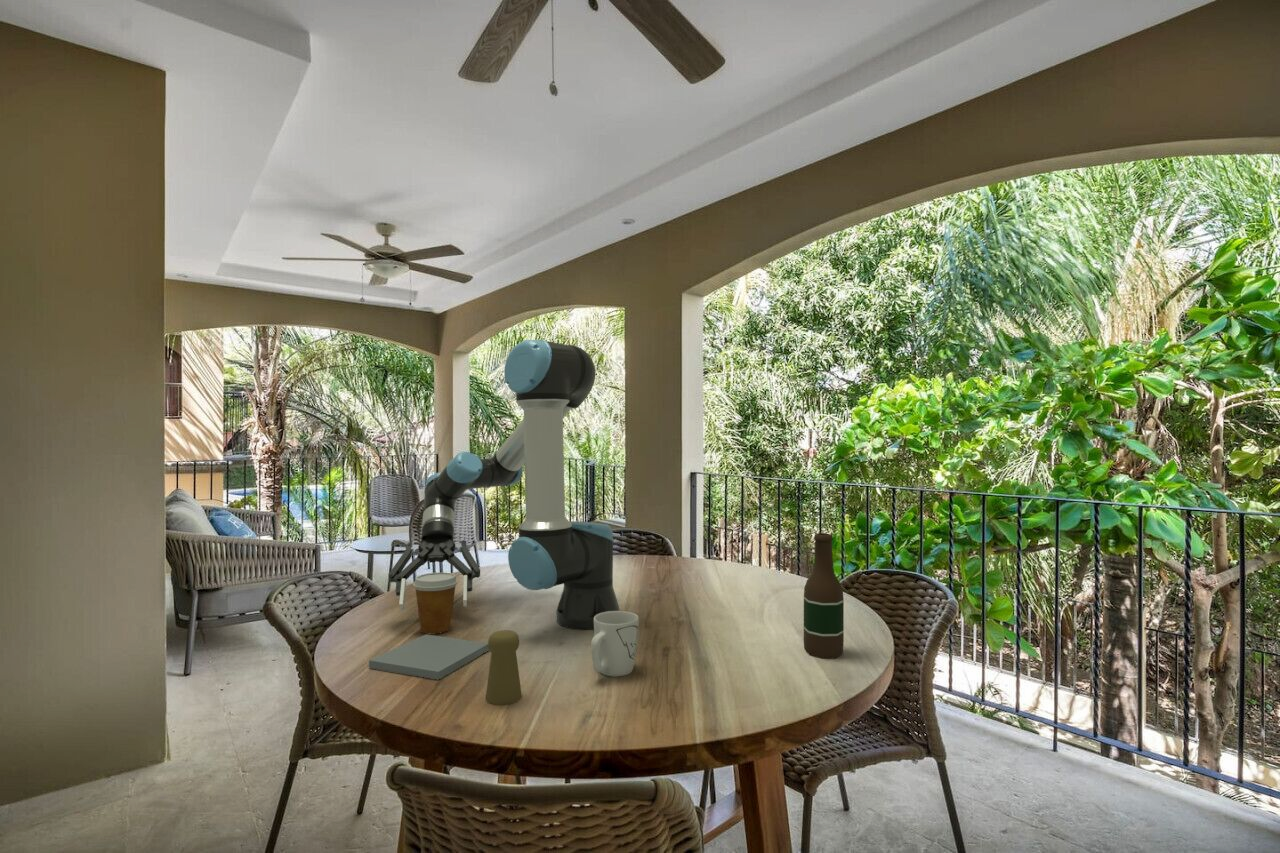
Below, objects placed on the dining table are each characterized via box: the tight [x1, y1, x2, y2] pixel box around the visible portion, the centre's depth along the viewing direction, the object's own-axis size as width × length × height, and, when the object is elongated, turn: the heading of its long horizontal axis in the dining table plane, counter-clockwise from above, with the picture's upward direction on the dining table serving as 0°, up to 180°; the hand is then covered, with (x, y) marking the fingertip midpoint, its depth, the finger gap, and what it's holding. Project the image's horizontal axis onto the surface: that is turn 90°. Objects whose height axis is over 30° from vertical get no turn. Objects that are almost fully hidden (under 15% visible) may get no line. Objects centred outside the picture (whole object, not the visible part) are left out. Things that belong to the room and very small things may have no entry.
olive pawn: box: [485, 629, 523, 706], centre depth 107 cm, size 6×6×11 cm
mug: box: [590, 610, 640, 678], centre depth 117 cm, size 11×8×10 cm
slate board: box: [368, 634, 490, 681], centre depth 124 cm, size 16×16×2 cm
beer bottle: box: [803, 532, 845, 659], centre depth 128 cm, size 8×8×24 cm
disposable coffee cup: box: [413, 572, 458, 634], centre depth 142 cm, size 10×10×12 cm
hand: (433, 605), depth 141 cm, fingers open, 13 cm apart
